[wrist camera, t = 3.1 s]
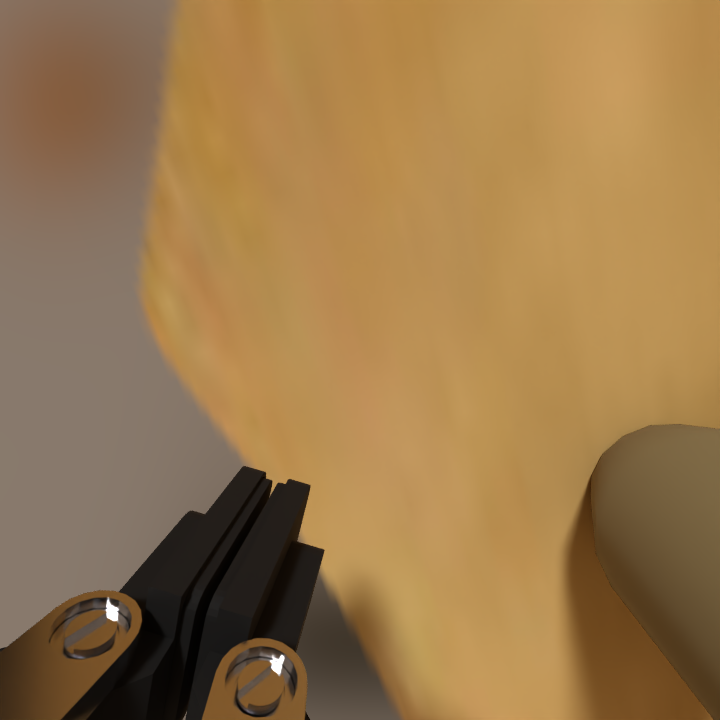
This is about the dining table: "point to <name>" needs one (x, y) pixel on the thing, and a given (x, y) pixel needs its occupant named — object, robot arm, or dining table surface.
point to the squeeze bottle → (666, 543)
